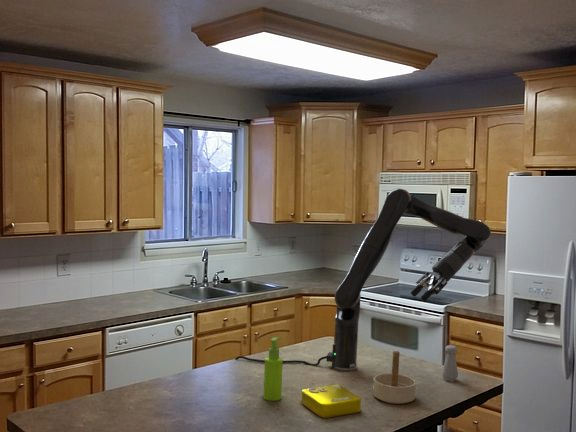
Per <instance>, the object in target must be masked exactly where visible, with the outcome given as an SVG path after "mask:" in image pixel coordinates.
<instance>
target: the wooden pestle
mask: <svg viewBox="0 0 576 432" xmlns="http://www.w3.org/2000/svg"><path fill="white" fill-rule="evenodd" d="M391 364H392V365H391V374H392V382H391V385H388V386H393V387H401V386H399V385H398V374H399V372H400V351H398V350H393V351H392V362H391Z"/></svg>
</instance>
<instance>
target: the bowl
mask: <svg viewBox="0 0 576 432" xmlns="http://www.w3.org/2000/svg"><path fill="white" fill-rule="evenodd" d="M391 382H392V372H391V373H388V372H387V373H386V372H385V373H380V374H376V375H375V376H373V379H372V395H373V397H375V398H376V399H378V400H380V401H381V402H385V403H388V404H394V405H395V404H396V405H400V404H401V405H402V404H408V403H410V402H413V401H414V400H415V399H416V389H417V388H416V387H417V381H416V380H415V379H414V378H412V377H411V376H407V375H404V374H399V373H398V385H399V386H401V387H393V386H388V385H391Z"/></svg>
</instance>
